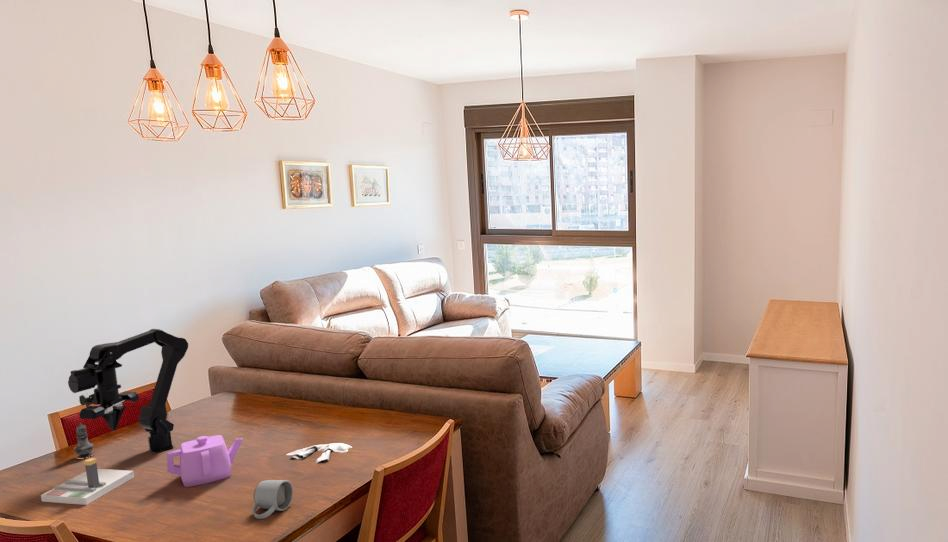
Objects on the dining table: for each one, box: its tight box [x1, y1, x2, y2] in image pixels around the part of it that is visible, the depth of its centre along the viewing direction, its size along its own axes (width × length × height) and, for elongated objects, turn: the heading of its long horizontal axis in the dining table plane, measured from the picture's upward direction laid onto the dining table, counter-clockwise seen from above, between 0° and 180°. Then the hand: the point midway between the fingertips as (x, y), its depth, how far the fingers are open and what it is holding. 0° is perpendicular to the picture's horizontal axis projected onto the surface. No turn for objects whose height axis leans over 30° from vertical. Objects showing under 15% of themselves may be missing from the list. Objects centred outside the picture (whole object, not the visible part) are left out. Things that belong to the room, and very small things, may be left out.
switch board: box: [40, 468, 135, 506], centre depth 195 cm, size 18×16×3 cm
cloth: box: [286, 442, 353, 464], centre depth 210 cm, size 20×22×2 cm
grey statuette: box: [73, 422, 94, 458], centre depth 220 cm, size 6×6×12 cm
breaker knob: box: [83, 457, 100, 488], centre depth 190 cm, size 2×2×8 cm
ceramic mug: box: [251, 479, 294, 520], centre depth 173 cm, size 11×8×8 cm
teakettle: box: [166, 434, 243, 488], centre depth 198 cm, size 17×17×12 cm
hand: (113, 430), depth 210 cm, fingers closed
